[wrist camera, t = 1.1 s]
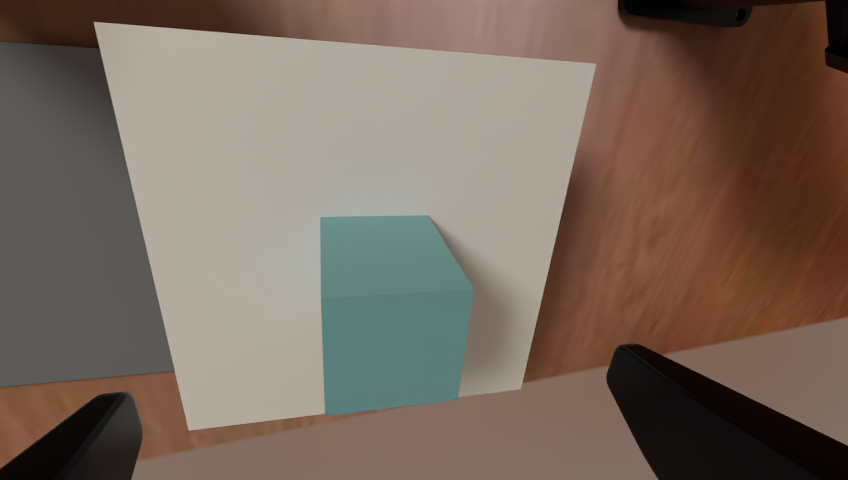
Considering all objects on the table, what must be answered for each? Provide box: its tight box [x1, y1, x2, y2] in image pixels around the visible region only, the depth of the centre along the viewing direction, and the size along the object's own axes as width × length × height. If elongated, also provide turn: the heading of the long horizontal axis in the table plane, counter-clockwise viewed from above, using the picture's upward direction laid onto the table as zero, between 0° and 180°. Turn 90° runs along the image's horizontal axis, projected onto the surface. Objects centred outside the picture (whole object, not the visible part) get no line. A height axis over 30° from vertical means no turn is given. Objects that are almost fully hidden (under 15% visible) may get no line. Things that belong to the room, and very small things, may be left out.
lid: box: [94, 22, 596, 430], centre depth 11 cm, size 12×12×6 cm
